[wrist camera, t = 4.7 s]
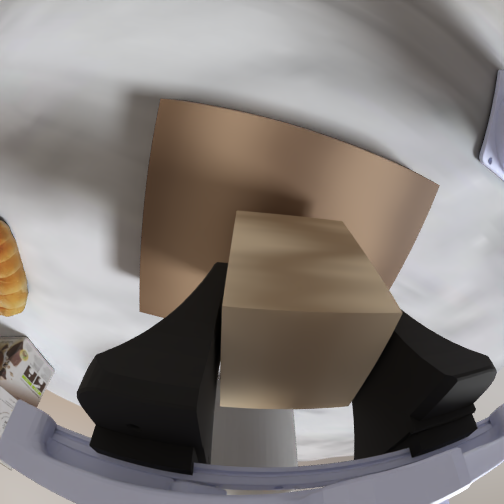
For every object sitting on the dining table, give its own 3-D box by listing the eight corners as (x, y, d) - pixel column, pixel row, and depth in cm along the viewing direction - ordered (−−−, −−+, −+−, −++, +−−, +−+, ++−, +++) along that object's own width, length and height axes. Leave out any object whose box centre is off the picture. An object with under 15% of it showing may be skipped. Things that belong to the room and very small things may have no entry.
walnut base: (412, 170, 14) (439, 185, 12) (341, 320, 20) (350, 350, 17) (178, 99, 13) (160, 98, 10) (153, 283, 18) (139, 311, 16)
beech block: (342, 221, 11) (402, 313, 6) (320, 304, 14) (348, 406, 8) (236, 210, 11) (222, 305, 6) (230, 298, 13) (220, 406, 8)
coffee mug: (296, 375, 23) (307, 476, 15) (288, 420, 28) (293, 495, 20) (154, 371, 24) (130, 464, 15) (177, 417, 29) (165, 488, 20)
